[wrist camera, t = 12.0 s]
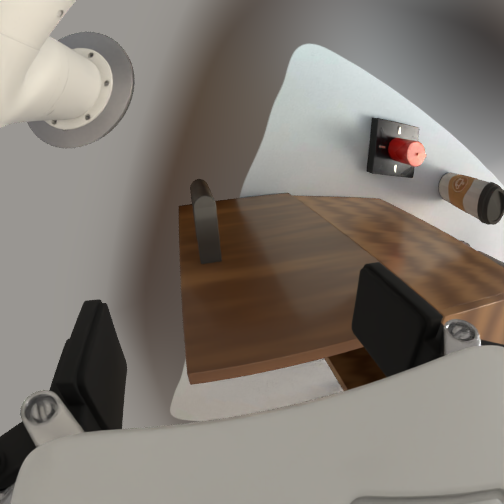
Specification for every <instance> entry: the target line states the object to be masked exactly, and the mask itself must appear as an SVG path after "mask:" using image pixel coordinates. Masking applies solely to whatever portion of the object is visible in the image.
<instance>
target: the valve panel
mask: <svg viewBox="0 0 504 504" xmlns="http://www.w3.org/2000/svg"><path fill="white" fill-rule="evenodd" d="M418 134H419V128H418V127H415V126H410V125H406V124H402V123H398V122H393V121H389V120H384V119H379V118H372V124H371V135H370V145H369V155H368V163H367V172H370V173H373V174H383V175H392V176H401V177H409V178H413V174H414V166H411V165H407V164H404V163H401V162H397V161H394V160H393V159H391V157H390V156H389V152H388V147H389V144H390V142H391V141H392V140H393V139H394V138H403V139H408V140H413V141H418Z"/></svg>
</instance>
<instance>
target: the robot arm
mask: <svg viewBox="0 0 504 504" xmlns="http://www.w3.org/2000/svg"><path fill="white" fill-rule="evenodd" d="M75 1H76V0H0V128H2V127H4V126H6V125H8V124H12V123H20V122H31V121H45V122H47V123H48V124H49V125H51V126H53V127H55V128H58V129H63V130H69V129H76V128H79V127H82V126H85V125H86V124H88V123H90V122H91V121H93V120H94V119H95V118H97V116H98V115H99V114H100V113H101V112H102V111H103V109H104V108H105V106H106V105H107V103H108V101H109V99H110V96H111V92H112V87H113V76H112V71H111V68H110V66H109V64H108V62H107V61H106V60H105V59H104V57H103V56H101V55H100V54H99V53H97V52H96V51H94V50H91V49H87V48H75V49H70V48H69V47H67V46H66V45H64V44H62V43H60V42H59V41H57V40H55V39H54V38H52V37H50V36H49V35H50V34H51V32H52V31H53V29H54V28H55V27H56V25H57V24H58V23H59V21H60V20H61V19H62V17H63V16H64V15H65V14H66V12H67V11H68V10H69V8H70V7H71V6H72V5H73V3H74V2H75ZM91 55H93V57H91ZM108 82H109V85H108V86H107V85H106V83H108ZM89 115H90V119H88V116H89ZM56 120H57V123H55V121H56ZM442 318H443V316H442V315H441V314H440V313H439V312H438V311H437V310H436V309H435V308H433V307H432V306H431V305H430V304H429V303H428V302H427V301H425V300H424V299H423V298H422V297H421V296H420V295H418V294H417V293H416V292H415V291H414V290H413V289H411V288H410V287H409V286H408V285H407V284H405V283H404V282H403V281H402V280H401V279H399V278H398V277H397V276H396V275H395V274H393V273H392V272H391V271H390V270H388V269H387V268H386V267H385V266H384V265H382V264H381V263H380V262H375V263H369V264H365V265H364V267H363V268H362V269H361V270H360V274H359V281H358V288H357V294H356V301H355V307H354V313H353V319H352V331H353V333H354V335H355V336H356V337H357V339H358V340H359V341H360V343H361V344H362V345H363V346H364V348H365V349H366V350H367V352H368V353H369V354H370V356H371V357H372V358H373V360H374V361H375V362H376V364H377V365H378V366H379V368H380V369H381V370H382V372H383V373H384V374H385V376H386V377H387V378H384V379H381V380H378V381H375V382H372V383H369V384H366V385H363V386H359V387H356V388H353V389H350V390H346V391H343V392H339V393H336V394H333V395H329V396H325V397H322V398H318V399H314V400H310V401H306V402H302V403H298V404H294V405H290V406H285V407H281V408H276V409H272V410H267V411H262V412H257V413H251V414H246V415H241V416H235V417H229V418H223V419H216V420H209V421H202V422H194V423H186V424H176V425H167V426H157V427H145V428H131V429H122V418H123V406H124V394H125V383H126V374H127V364H126V360H125V358H124V354H123V351H122V349H121V346H120V343H119V340H118V337H117V334H116V331H115V328H114V325H113V322H112V319H111V315H110V312H109V309H108V306H107V304H106V303H102V302H101V300H89V301H85V302H84V304H83V306H82V308H81V311H80V313H79V316H78V318H77V321H76V324H75V326H74V329H73V332H72V334H71V337H70V339H68V340H67V341H66V343H65V346H64V349H63V352H62V354H61V357H60V360H59V363H58V366H57V369H56V372H55V375H54V378H53V381H52V384H51V387H50V390H49V391H46V390H43V391H38V392H35V393H33V394H31V395H30V396H29V397H27V399H26V400H25V401H24V402H23V404H22V406H21V412H20V415H21V418H22V422H21V423H19V424H18V425H16V426H15V427H14V428H12V429H11V430H9V431H8V432H7V433H5V434H4V435H2V436H1V437H0V504H504V345H503V344H499V343H494V342H490V341H485V340H481V339H480V336H479V332H478V330H477V329H476V327H475V326H474V325H472V324H471V323H469V322H467V321H465V320H461V319H451V320H449V321H447V322H446V323H445V324H444V325H443V324H442V323H441V321H442Z"/></svg>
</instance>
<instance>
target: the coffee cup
mask: <svg viewBox="0 0 504 504" xmlns="http://www.w3.org/2000/svg"><path fill="white" fill-rule="evenodd" d="M439 193H440V195H441V197H442V198H443V199H444V200H446V201H448V202H449V203H451V204H453V205H454V206H456V207H458V208H459V209H461V210H463V211H465V212H466V213H468V214H471V215H472V216H474V217H476V218H477V219H479V220H480V221H481V222H482V223H486V224H496V223H498V222H499V221H500V219H501V218H502V216H503V214H504V190H503V189H501V187H500V186H499V185H497V184H495V183H492V182H491V183H489V182H486V181H482V180H478V179H476V178H472V177H468V176H464V175H459V174H455V173H447V174H445V175H444V176H443V177H442V178H441V180H440V183H439Z"/></svg>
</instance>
